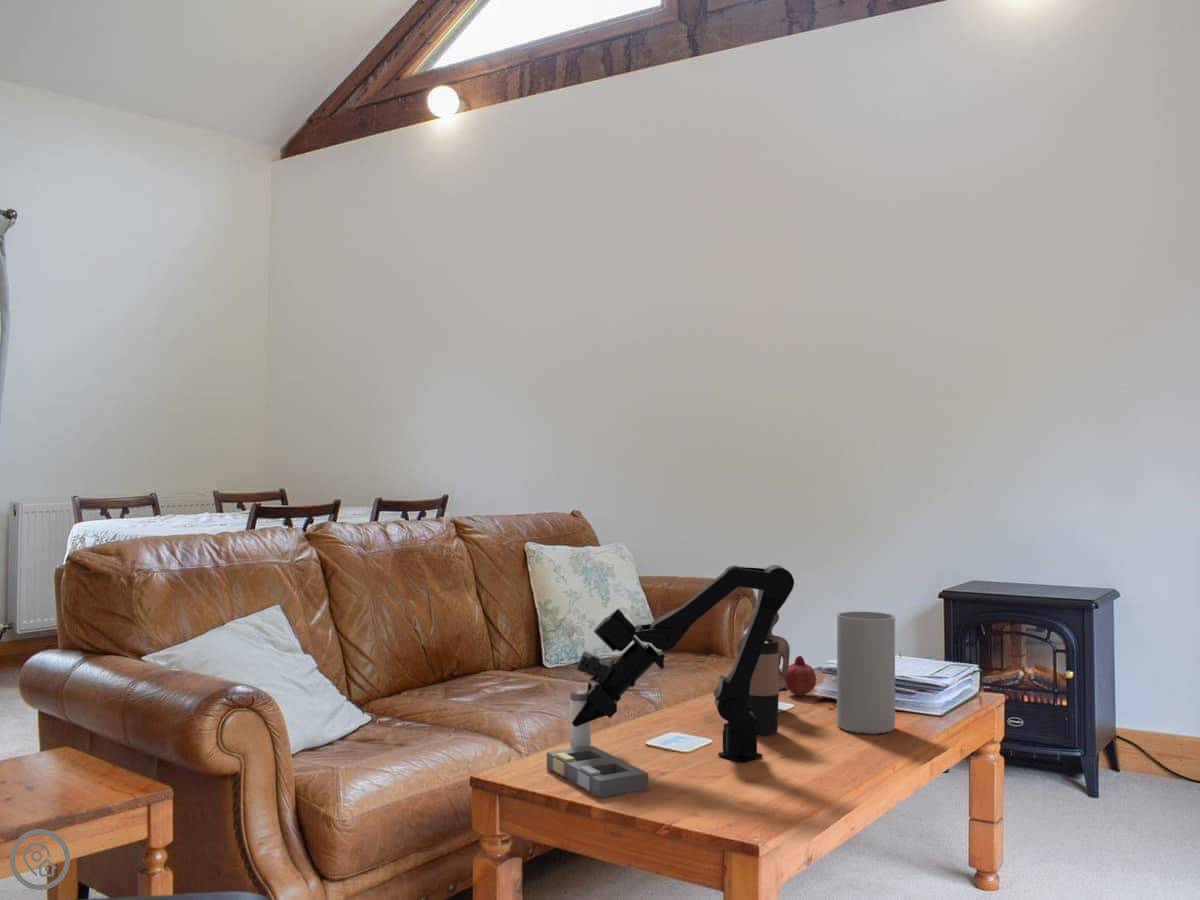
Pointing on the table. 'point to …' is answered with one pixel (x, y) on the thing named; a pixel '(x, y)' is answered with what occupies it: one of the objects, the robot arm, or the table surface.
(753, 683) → the travel mug
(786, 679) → the fruit
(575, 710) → the white dome-top cylinder
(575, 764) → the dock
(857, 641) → the cylinder vase
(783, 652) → the clay figurine
